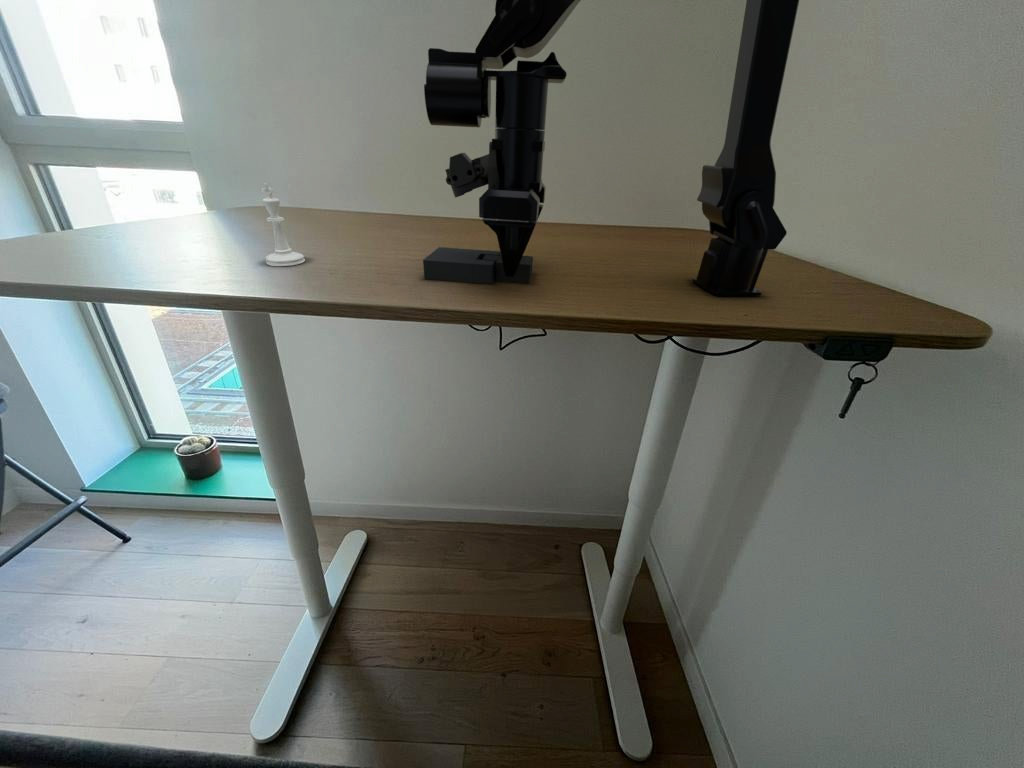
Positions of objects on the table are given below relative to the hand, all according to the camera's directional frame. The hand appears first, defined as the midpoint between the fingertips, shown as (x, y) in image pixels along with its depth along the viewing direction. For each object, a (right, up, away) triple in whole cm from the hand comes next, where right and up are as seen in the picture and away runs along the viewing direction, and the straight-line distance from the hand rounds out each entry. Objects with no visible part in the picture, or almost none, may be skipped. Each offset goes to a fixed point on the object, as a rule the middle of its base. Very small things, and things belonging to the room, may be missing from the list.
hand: (514, 266), depth 54 cm
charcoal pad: (-7, -1, +1) cm, 7 cm away
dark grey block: (0, -1, +1) cm, 2 cm away
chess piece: (-32, +1, +3) cm, 33 cm away
